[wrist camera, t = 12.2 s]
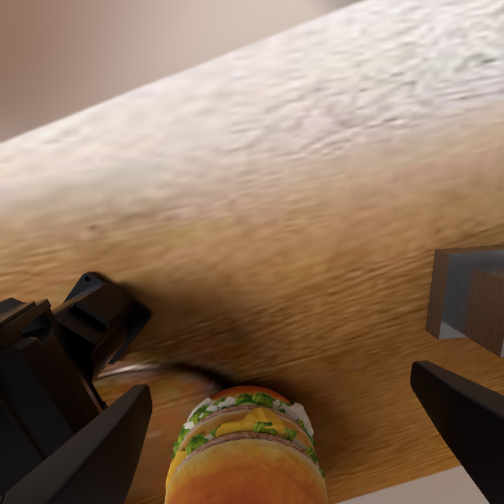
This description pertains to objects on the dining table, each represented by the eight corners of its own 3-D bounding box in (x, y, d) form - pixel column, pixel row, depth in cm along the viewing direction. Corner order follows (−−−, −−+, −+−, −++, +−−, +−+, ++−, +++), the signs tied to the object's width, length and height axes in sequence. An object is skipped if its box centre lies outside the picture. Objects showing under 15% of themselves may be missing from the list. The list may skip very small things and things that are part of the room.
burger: (261, 346, 22) (275, 460, 13) (334, 434, 25) (392, 582, 15) (153, 418, 24) (92, 571, 14) (234, 494, 27) (230, 666, 17)
